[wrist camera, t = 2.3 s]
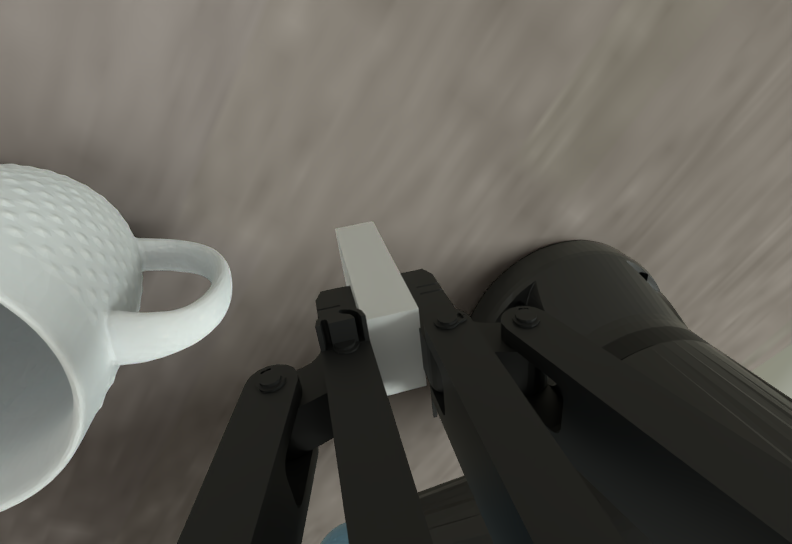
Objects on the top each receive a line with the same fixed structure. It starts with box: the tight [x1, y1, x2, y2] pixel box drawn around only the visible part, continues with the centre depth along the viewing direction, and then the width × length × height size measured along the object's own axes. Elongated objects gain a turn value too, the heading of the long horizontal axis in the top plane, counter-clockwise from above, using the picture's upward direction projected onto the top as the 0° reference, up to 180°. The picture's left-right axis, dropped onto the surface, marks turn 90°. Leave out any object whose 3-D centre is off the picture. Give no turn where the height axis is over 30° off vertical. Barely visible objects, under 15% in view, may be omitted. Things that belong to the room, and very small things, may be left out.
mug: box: [0, 163, 232, 512], centre depth 19 cm, size 15×11×13 cm
